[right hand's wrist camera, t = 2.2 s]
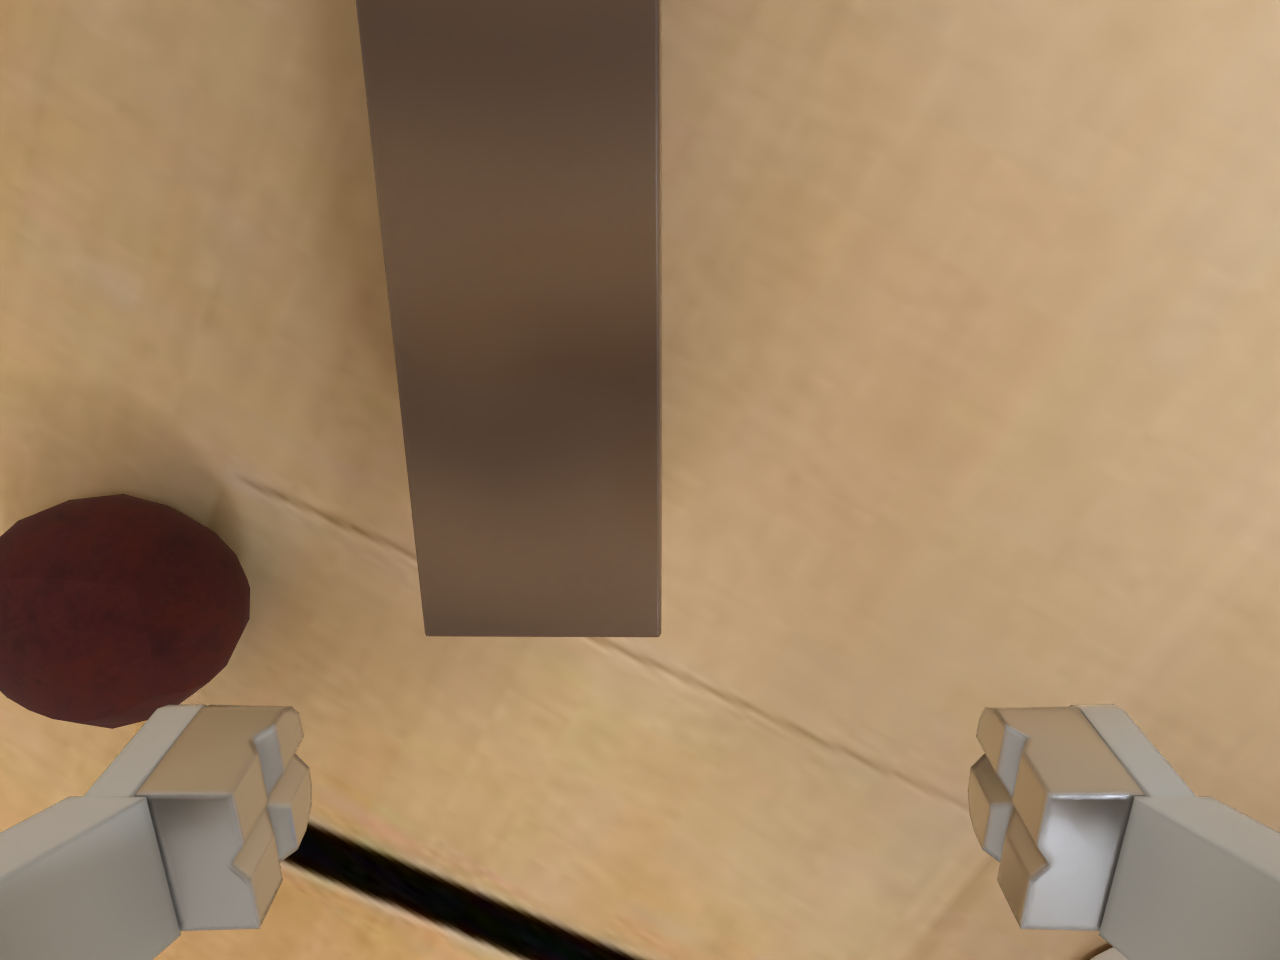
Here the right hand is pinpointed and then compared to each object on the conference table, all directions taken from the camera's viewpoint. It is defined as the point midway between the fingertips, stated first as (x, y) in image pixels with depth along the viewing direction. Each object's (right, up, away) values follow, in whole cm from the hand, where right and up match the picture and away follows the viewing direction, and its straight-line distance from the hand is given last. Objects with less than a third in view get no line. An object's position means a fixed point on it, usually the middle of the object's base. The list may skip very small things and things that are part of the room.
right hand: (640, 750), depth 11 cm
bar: (-2, +14, +15) cm, 21 cm away
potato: (-16, 0, +21) cm, 26 cm away
